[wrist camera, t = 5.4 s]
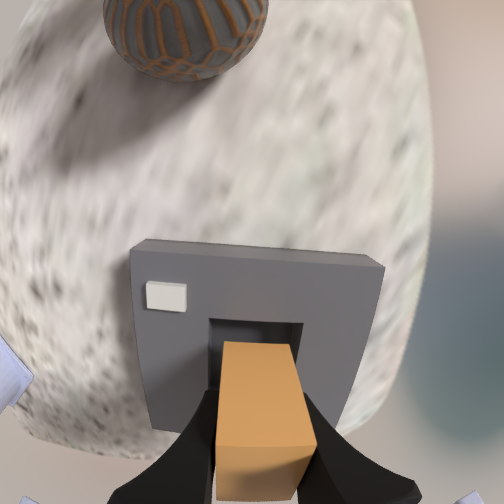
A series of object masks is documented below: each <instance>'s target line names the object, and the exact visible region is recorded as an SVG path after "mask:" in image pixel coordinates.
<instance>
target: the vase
mask: <svg viewBox="0 0 504 504" xmlns="http://www.w3.org/2000/svg"><path fill="white" fill-rule="evenodd" d="M268 5H269V1H268V0H104V4H103V17H104V24H105V28H106V31H107V34H108V37H109V39H110V41H111V43H112V45H113V46H114V48H115V49H116V51H117V52H118V53H119V54H120V55H121V56H122V57H123V59H125V60H126V61H127V62H128V63H129V64H130V65H132V66H133V67H135V68H136V69H137V70H139V71H141V72H142V73H144V74H147V75H149V76H152V77H155V78H158V79H161V80H167V81H174V82H191V81H198V80H203V79H207V78H210V77H213V76H216V75H218V74H220V73H223V72H225V71H227V70H228V69H230V68H232V67H233V66H234V65H236V64H237V63H238V62H240V61H241V60H242V59H243V58H244V57H245V56H246V55H247V54H248V53H249V52H250V51H251V50H252V48H253V47H254V45H255V44H256V43H257V41H258V39H259V38H260V36H261V34H262V31H263V28H264V26H265V22H266V18H267V14H268Z"/></svg>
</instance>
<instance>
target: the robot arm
mask: <svg viewBox="0 0 504 504" xmlns="http://www.w3.org/2000/svg"><path fill="white" fill-rule="evenodd" d="M33 379H34V376H33V374H32V373H31V372H30V371H29V370H28V368H27V367H26V366H25V365H24V364H23V363H22V362H21V360H20V359H19V358H18V357H17V356H16V355H15V353H14V352H13V351H12V350H11V349H10V347H9V346H8V345H7V344H6V342H5V341H4V340H3V338H2V337H1V336H0V414H1V413H2V411H3V410H4V409H5V408H6V406H7V405H8V404H9V405H10V406H11V407H13V406H14V405H15V404H16V402H17V401H18V399H19V398H20V397H21V395H22V394H23V392H24V391H25V390H26V388H27V387H28V386H29V384H30V383H31V382H32V380H33ZM219 394H220V391H217V390H206V391H205V392H204V395H203V398H202V400H201V402H200V404H199V406H198V408H197V410H196V412H195V414H194V415H193V417H192V418H191V420H190V422H189V423H188V425H187V426H186V428H185V429H184V430H183V432H182V433H181V434H180V436H179V437H178V438H177V440H176V441H175V442H174V443H173V444H172V446H171V447H170V448H169V449H168V450H167V451H166V452H165V453H164V454H163V455H162V456H161V457H160V458H159V459H158V460H157V461H156V462H155V463H153V464H152V465H151V466H150V467H149V468H147V469H146V470H145V471H143V472H142V473H141V474H140V475H138V476H137V477H136V478H134V479H132V480H131V481H129V482H128V483H126V484H124V485H122V486H121V487H119V488H117V489H116V490H115V491H114V492H113V494H112V495H111V497H110V499H109V501H108V503H107V504H211V502H212V484H213V477H214V471H215V465H216V433H217V419H218V406H219ZM303 395H304V399H305V402H306V406H307V409H308V413H309V416H310V420H311V424H312V427H313V431H314V434H315V438H316V442H317V446H316V449H315V451H314V453H313V455H312V458H311V460H310V462H309V464H308V466H307V468H306V471H305V473H304V475H303V477H302V479H301V481H300V483H299V485H298V487H297V495H298V504H418V503H419V502H420V500H421V498H422V495H421V493H420V491H419V488H418V486H417V485H416V483H415V481H414V480H411V479H408V478H406V477H403V476H401V475H398V474H395V473H393V472H391V471H389V470H387V469H385V468H383V467H382V466H380V465H378V464H377V463H375V462H373V461H372V460H370V459H369V458H367V457H365V456H364V455H363V454H361V453H360V452H359V451H357V450H356V449H355V448H353V447H352V446H351V445H350V444H349V443H348V442H347V441H346V440H345V439H344V438H343V437H342V436H341V435H340V434H339V433H338V432H337V431H336V430H335V429H334V428H333V427H332V426H331V425H330V424H329V422H328V421H327V420H326V419H325V418H324V416H323V415H322V414H321V413H320V411H319V410H318V409H317V408H316V406H315V405H314V403H313V402H312V401H311V399H310V398H309V397H308V395H307V394H306V393H305V392H303ZM20 504H39V503H37V502H35V501H33V500H32V499H30V498H29V497H27V496H23V497H22V499H21V502H20ZM454 504H484V503H483V501H482V500H481V498H480V496H479V495H478V493H477V491H476V490H474V491H473V492H471V493H469V494H468V495H466V496H464V497H463V498H461V499H460V500H458V501H456V502H455V503H454Z"/></svg>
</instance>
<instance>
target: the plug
mask: <svg viewBox="0 0 504 504" xmlns="http://www.w3.org/2000/svg"><path fill="white" fill-rule="evenodd" d="M316 446H317V442H316V438H315V434H314V431H313V427H312V424H311V420H310V416H309V413H308V409H307V406H306V402H305V399H304V395H303V391H302V388H301V384H300V381H299V377H298V374H297V370H296V367H295V363H294V360H293V356H292V353H291V349H290V346H289V344H268V343H245V342H229V341H224V348H223V359H222V370H221V382H220V394H219V406H218V419H217V433H216V500H219V501H242V502H244V501H245V502H255V501H257V502H260V501H284V500H291V498H292V496H293V494H294V493H295V491H296V489H297V487H298V485H299V483H300V481H301V479H302V477H303V475H304V473H305V471H306V468H307V466H308V464H309V462H310V460H311V458H312V455H313V453H314V451H315V449H316Z"/></svg>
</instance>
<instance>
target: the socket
mask: <svg viewBox="0 0 504 504" xmlns="http://www.w3.org/2000/svg"><path fill="white" fill-rule="evenodd" d="M384 272H385V267H384V266H383V265H381V264H380V263H378V262H376V261H375V260H373V259H372V258H370V257H369V256H367V255H362V254H349V253H336V252H323V251H310V250H297V249H284V248H270V247H256V246H243V245H229V244H215V243H200V242H186V241H171V240H156V239H145V240H143V241H142V242H140V243H139V244H137V245H136V246H134V247H133V248H131V249H130V273H131V290H132V303H133V314H134V324H135V333H136V341H137V349H138V356H139V363H140V369H141V375H142V381H143V387H144V392H145V397H146V402H147V407H148V412H149V416H150V421H151V425H152V429H158V430H164V431H170V432H177V433H182V432H183V430H184V429H185V428H186V426H187V425H188V423H189V422H190V420H191V418H192V417H193V415H194V414H195V412H196V410H197V408H198V406H199V404H200V402H201V400H202V398H203V395H204V392H205V391H206V390H217V391H220V382H221V370H222V359H223V348H224V341H229V342H245V343H268V344H289V346H290V349H291V353H292V356H293V360H294V363H295V367H296V370H297V374H298V377H299V381H300V384H301V388H302V391H303V392H305V393H306V394H307V395H308V397H309V398H310V399H311V401H312V402H313V403H314V405H315V406H316V408H317V409H318V410H319V411H320V413H321V414H322V415H323V416H324V418H325V419H326V420H327V421H328V422H329V424H330V425H331V426H332V427H333V428H334V429H335V428H336V426H337V423H338V421H339V418H340V416H341V414H342V411H343V409H344V406H345V404H346V401H347V399H348V396H349V393H350V391H351V388H352V385H353V382H354V380H355V377H356V374H357V371H358V368H359V365H360V362H361V359H362V356H363V353H364V350H365V346H366V343H367V340H368V336H369V333H370V329H371V326H372V322H373V318H374V315H375V311H376V307H377V303H378V299H379V295H380V290H381V286H382V281H383V277H384Z"/></svg>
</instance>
